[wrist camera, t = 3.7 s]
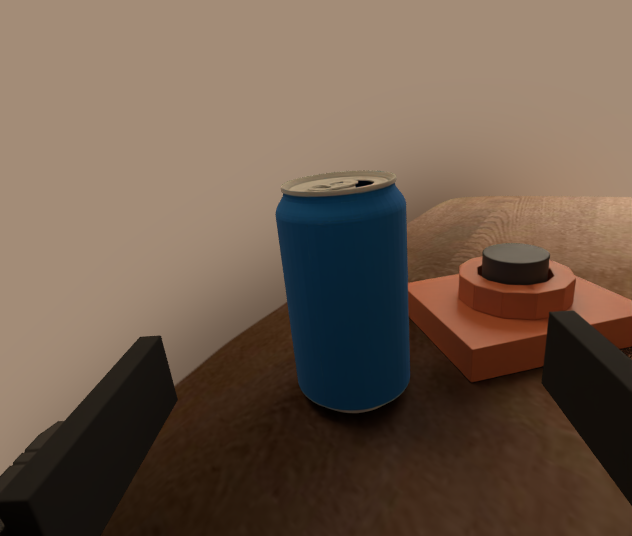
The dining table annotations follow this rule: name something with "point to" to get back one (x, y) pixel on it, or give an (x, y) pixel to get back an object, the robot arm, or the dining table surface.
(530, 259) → the button
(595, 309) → the brew pad
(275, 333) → the dining table surface
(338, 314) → the beverage can
